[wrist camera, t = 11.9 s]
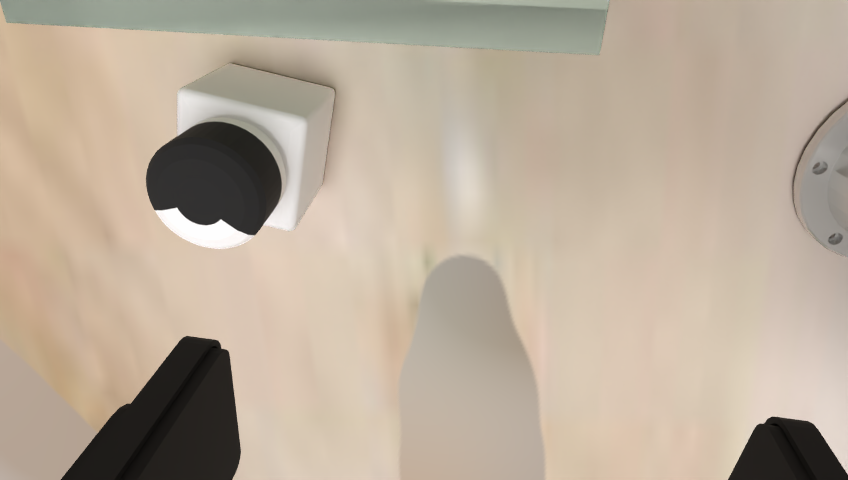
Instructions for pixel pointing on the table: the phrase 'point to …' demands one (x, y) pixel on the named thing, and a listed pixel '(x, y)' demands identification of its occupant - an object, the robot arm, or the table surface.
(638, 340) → the table surface
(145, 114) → the table surface
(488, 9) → the pale green rectangular block
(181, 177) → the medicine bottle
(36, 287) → the table surface
